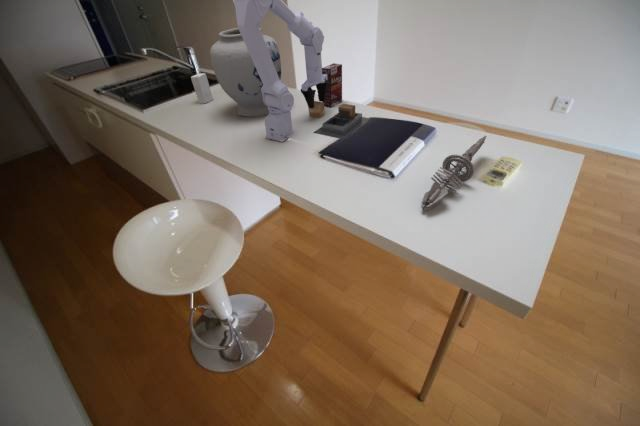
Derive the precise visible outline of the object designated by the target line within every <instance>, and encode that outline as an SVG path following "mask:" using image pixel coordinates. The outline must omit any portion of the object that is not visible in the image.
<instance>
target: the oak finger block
mask: <svg viewBox="0 0 640 426" xmlns="http://www.w3.org/2000/svg"><path fill="white" fill-rule="evenodd" d="M325 113H326V112H325V107H324V102H321V101H319V100H314V108H313V109H312V108H308V116H309V117H312V118H316V119H321V118H322V117H324V116H325Z"/></svg>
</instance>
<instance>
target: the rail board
mask: <svg viewBox="0 0 640 426" xmlns="http://www.w3.org/2000/svg"><path fill="white" fill-rule="evenodd" d="M369 119H370V120H371V118H370V117H365V116H363V113H361V112H360V113H358V112H355V117H354V118H353V119H352V120H351V119H345V118H340V117H339V114H338V113H336V114H334V115H333V116H332V117H330V118H329V119H327V120H325V121H324V122H322V126H321V127H319V128H317V129H316V130H315V131H314V132H313V134H317V135H323V136H324V137H325V136H327V137H330V138H335V139H340V140H344V139H345V138H346V137H348V136H347V135H348V134H352V135H353V134H354V133H355V132H356V131H358V130H359V129H360V128H361V127H362V126H363V125H365V124H366V123H367V122H369V121H370V120H369ZM348 138H349V137H348Z"/></svg>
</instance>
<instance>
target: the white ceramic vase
mask: <svg viewBox="0 0 640 426" xmlns="http://www.w3.org/2000/svg"><path fill="white" fill-rule="evenodd" d="M259 28H260V31H261V32H262V27H259ZM218 36H219V37H220V39H219V40H218V41H216V42H215V43H214V44H212V46H210V47H211V48H210V50H209V51H210V55H209V56H210V60H211V61H210V62H211V65H212V66H211V67H212V69H213V73H214V75H215V77H216V79H217V80H216V81H217V83H218V84H219V85H220V88H221V89H222V90H223V91H224V93H225V94H226V95H227V96H228V97H229V98H230V99H232V101H234V102H235V103H237V105H238V107H237V109H236V113H237V114H238V115H239V116H242V117H248V118H249V117H250V118H253V117H262V116H266V115H267V116H268V114H269V110H268V106H266V105H265V104H264V102H263V95H262V92H261V88H262V86H263V83H262V81H261V78H260V76H259V74H258V72H257V69H256V67H255V65H254V63H253V60H252V58H251V56H250V54H249V51H248V49H247V47H246V45H245V42H244V40H243V38H242V36H241V33H240V31H239V29H238V27H235V28H230V29H227V30H222V31H220V32H219V33H218ZM262 36H263V38H264V41H265V43H266V46H267V49H268V51H269V54H270V56H271V59H272V61H273V64H274V67H275V69H276V72H277V74H278V77H279V79H280V81H281V78H282V63H281V62H282V61H281V55H280V50H279V45H278V43H277V41H276V40H275V38H273V37H272V36H269V35H265V34H263V33H262Z"/></svg>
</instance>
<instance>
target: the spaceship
mask: <svg viewBox="0 0 640 426" xmlns="http://www.w3.org/2000/svg"><path fill="white" fill-rule="evenodd" d="M486 138H487V135H484V136H483V137H482V138H480V139H478V140H477V141H476V143H473V144H472V145H471V146H470V147H469V148H468V149H466V150H465V152H464V153H462V154H451V155H448V156H446V157H445V159H443V162H442V165H441V166H442V167H441V166H440V167H439V168H438V169H437V171H436V172H435V174H433V176H431V178H430V179H431V180H432V181H433V183H432V185H431V188H429V189H430V190H428V191H426V192H425V193H424V195H423V198H422V200H421V205H420V208H423V209H424V210H425V211H427V210H429V209H432V208H433V207H435V206H436V205H439V203H440V201H441V199H442V198H445V196H447V195H448V194H449V193H450V194H452V195H455V193H457V190H459V191H460V188H461V187H462V185H464V183H465V182H466V181H469V180H470V179H471V178H472V177H473V176H474V175H475V174H474V173H475V168H474V165H473V162H472V160H473V158H474V156H475V155H476V153H478V152H479V150H480V148H482V146H483V145H484V144H485V140H486ZM453 162H455V164H453ZM451 166H452V167H451ZM463 170H466V171H463ZM461 173H462V174H461Z"/></svg>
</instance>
